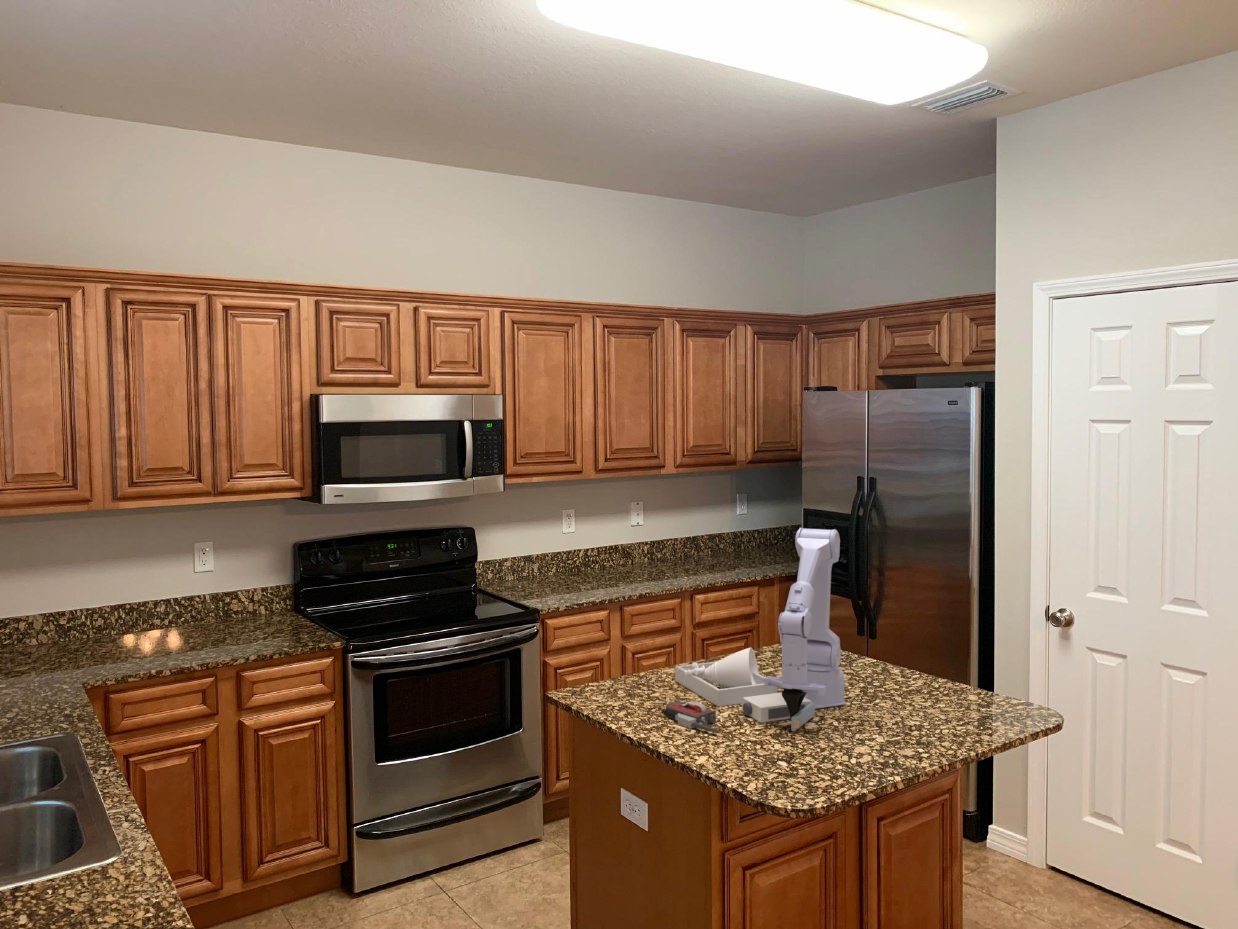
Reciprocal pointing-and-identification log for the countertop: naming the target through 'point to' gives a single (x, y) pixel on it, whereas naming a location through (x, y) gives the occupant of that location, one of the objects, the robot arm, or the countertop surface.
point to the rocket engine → (729, 670)
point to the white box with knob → (768, 707)
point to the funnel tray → (721, 695)
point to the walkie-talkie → (691, 715)
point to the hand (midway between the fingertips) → (794, 721)
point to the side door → (802, 716)
